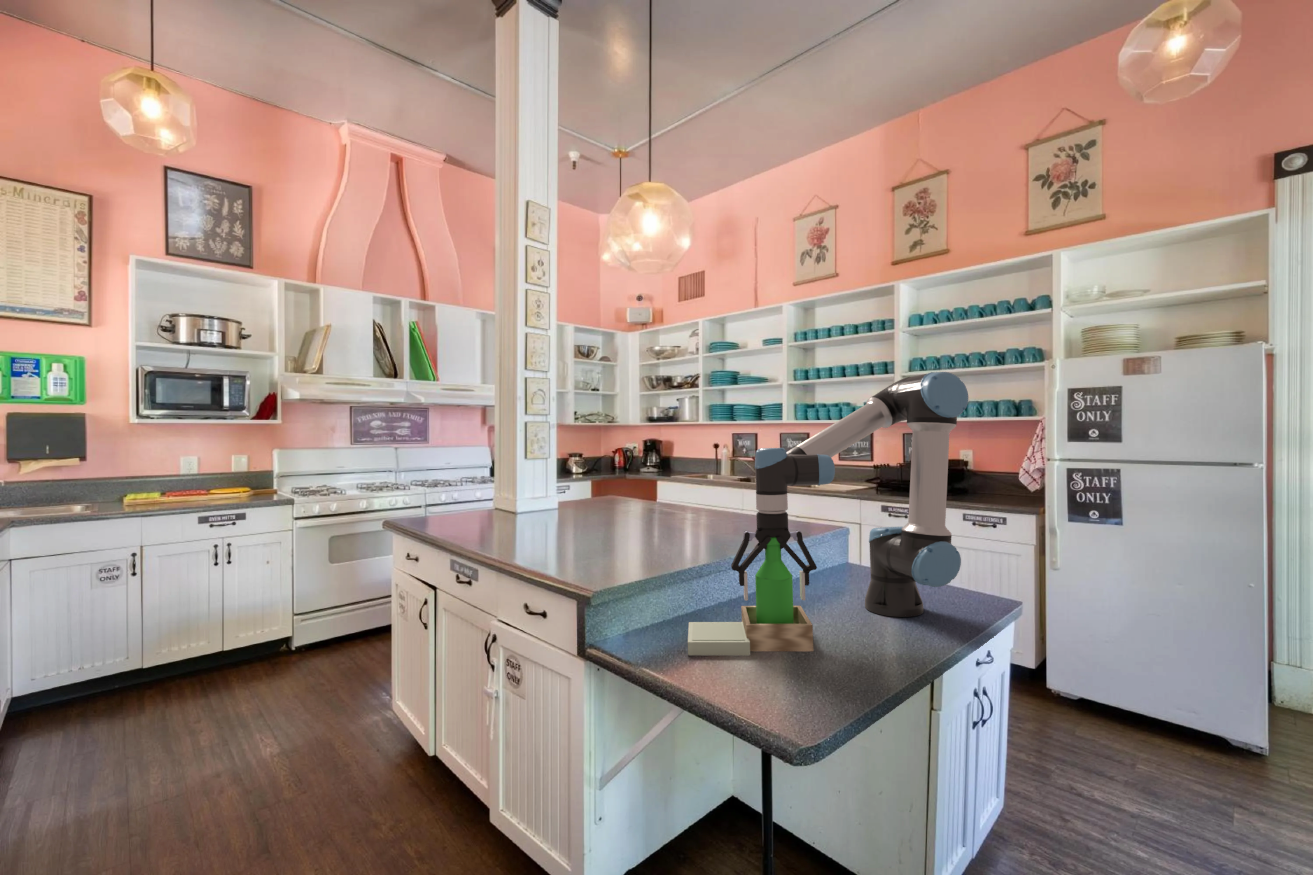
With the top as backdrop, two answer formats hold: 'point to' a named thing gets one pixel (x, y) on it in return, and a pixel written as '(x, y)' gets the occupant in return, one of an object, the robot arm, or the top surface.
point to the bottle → (774, 588)
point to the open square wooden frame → (778, 632)
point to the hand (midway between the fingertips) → (774, 598)
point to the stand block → (717, 639)
